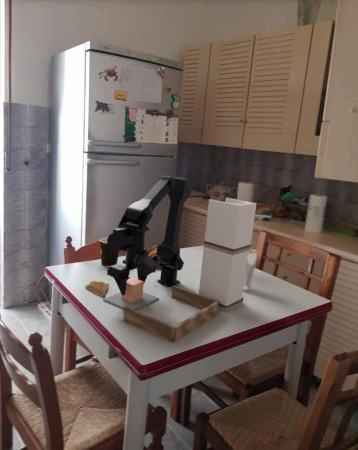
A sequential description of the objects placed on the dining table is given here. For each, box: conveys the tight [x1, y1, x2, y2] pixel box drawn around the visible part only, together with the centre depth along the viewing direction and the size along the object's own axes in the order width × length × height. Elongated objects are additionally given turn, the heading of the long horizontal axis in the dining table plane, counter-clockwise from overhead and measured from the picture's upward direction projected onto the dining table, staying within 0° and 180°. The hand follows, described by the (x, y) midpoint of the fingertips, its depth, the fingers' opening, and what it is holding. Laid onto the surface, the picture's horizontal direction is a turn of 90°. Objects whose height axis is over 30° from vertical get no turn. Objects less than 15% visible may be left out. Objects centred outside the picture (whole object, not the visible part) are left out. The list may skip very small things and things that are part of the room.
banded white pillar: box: [198, 197, 257, 313], centre depth 126 cm, size 11×11×35 cm
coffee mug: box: [99, 237, 120, 267], centre depth 155 cm, size 12×9×10 cm
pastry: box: [147, 244, 162, 270], centre depth 165 cm, size 17×15×8 cm
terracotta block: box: [121, 277, 145, 303], centre depth 124 cm, size 5×5×6 cm
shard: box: [84, 280, 110, 298], centre depth 129 cm, size 11×8×2 cm
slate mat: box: [102, 291, 160, 311], centre depth 124 cm, size 14×12×1 cm
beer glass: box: [243, 248, 258, 292], centre depth 142 cm, size 7×7×15 cm
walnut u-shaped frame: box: [123, 285, 220, 344], centre depth 115 cm, size 25×18×4 cm
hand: (132, 291), depth 124 cm, fingers open, 8 cm apart
